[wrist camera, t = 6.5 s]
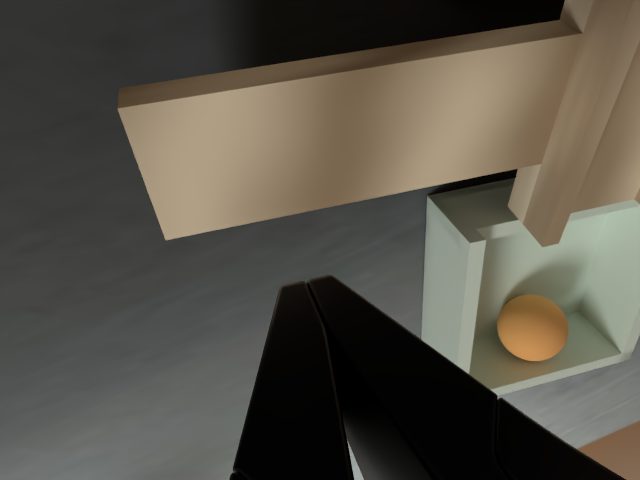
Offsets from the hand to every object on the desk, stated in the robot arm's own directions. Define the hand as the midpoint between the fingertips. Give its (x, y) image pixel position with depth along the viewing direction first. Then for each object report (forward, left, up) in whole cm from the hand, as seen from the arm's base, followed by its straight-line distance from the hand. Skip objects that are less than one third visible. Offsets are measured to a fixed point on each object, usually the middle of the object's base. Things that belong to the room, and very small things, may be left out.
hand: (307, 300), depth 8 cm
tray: (-11, +9, -10) cm, 17 cm away
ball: (-11, +12, -8) cm, 18 cm away
